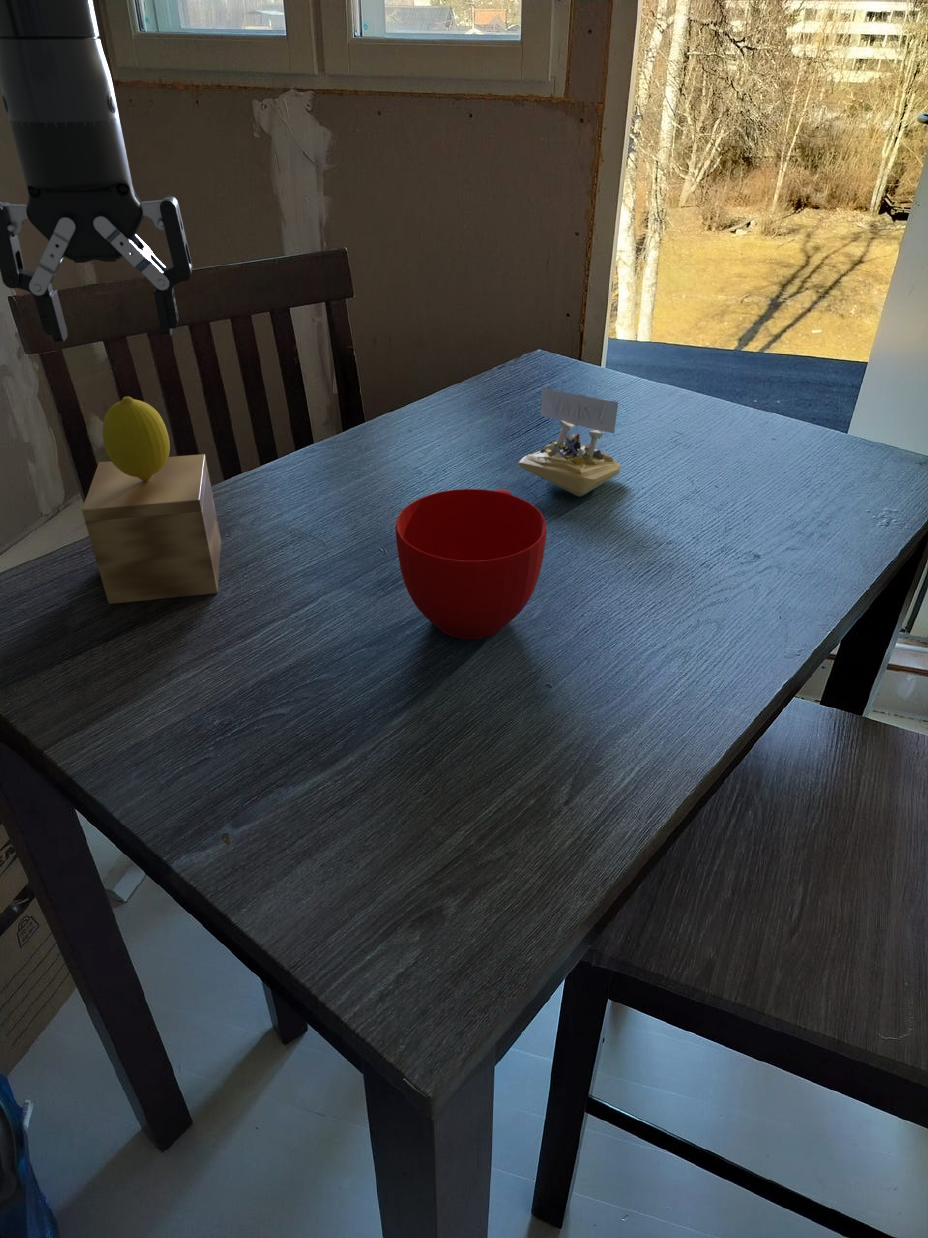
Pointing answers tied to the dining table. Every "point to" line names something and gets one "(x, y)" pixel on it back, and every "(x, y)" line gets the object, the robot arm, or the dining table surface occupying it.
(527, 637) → the dining table surface
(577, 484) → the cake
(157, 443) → the lemon
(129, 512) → the wooden cube
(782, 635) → the dining table surface
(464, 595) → the ceramic cup
